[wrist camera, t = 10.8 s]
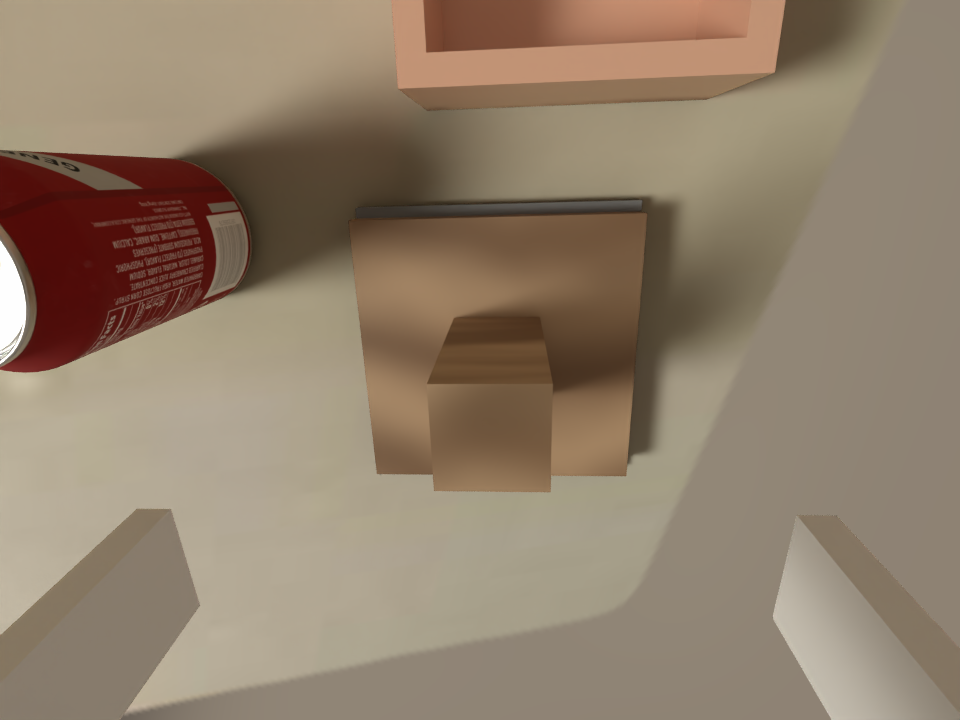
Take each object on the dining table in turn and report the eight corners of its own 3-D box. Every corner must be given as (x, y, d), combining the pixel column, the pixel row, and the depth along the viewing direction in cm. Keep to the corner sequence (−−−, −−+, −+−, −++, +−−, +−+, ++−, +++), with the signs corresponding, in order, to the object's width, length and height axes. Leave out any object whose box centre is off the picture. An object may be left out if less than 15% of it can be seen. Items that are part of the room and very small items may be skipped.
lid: (356, 218, 24) (265, 243, 15) (640, 211, 23) (719, 233, 14) (382, 461, 28) (324, 589, 19) (621, 463, 27) (672, 598, 18)
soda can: (277, 201, 24) (71, 223, 13) (236, 322, 26) (30, 432, 15) (141, 132, 23) (-204, 92, 12) (111, 262, 26) (-204, 331, 14)
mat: (359, 207, 24) (355, 207, 23) (639, 199, 23) (642, 200, 22) (386, 464, 29) (383, 470, 28) (619, 466, 28) (621, 471, 27)
